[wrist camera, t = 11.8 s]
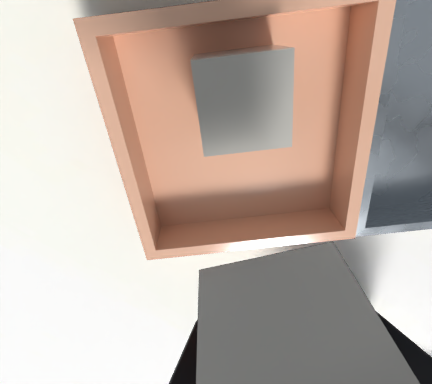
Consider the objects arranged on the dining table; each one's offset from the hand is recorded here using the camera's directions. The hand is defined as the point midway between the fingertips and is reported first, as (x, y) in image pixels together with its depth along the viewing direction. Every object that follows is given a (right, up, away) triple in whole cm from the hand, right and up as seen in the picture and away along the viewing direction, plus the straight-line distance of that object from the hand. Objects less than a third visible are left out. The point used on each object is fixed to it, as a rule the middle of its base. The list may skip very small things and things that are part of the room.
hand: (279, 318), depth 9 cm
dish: (-1, +7, +8) cm, 11 cm away
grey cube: (0, 0, +1) cm, 1 cm away
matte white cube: (-1, +9, +7) cm, 11 cm away
